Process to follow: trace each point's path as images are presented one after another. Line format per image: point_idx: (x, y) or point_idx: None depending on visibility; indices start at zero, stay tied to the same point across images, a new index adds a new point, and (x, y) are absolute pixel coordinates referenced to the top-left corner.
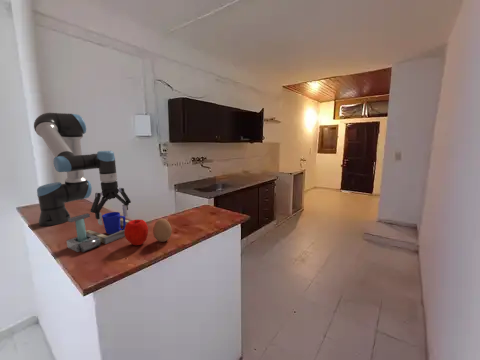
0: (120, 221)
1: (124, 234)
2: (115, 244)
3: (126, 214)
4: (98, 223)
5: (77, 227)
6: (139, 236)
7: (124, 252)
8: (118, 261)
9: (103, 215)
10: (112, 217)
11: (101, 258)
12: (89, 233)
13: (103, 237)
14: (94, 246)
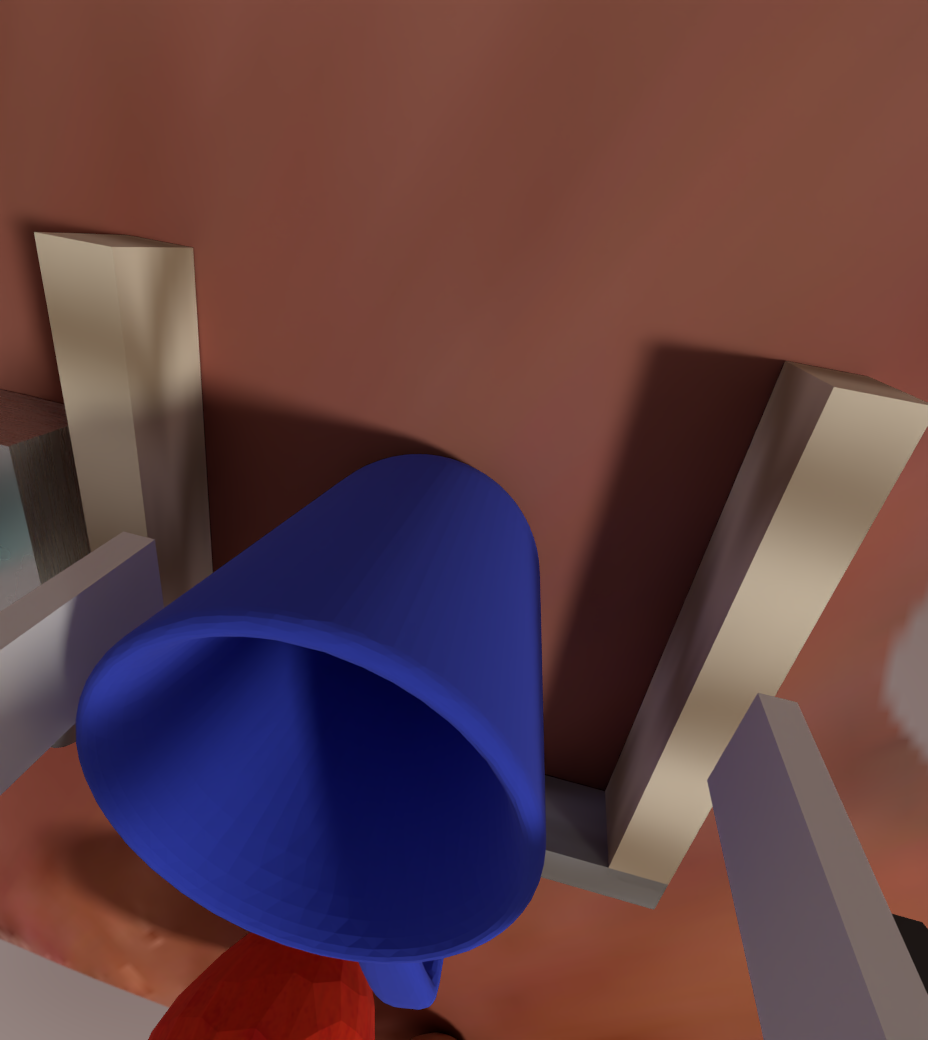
0: (792, 442)
1: (156, 1027)
2: None
3: (732, 843)
4: (109, 551)
5: None
6: None
7: (188, 899)
8: (106, 916)
9: (153, 653)
10: (235, 888)
11: (51, 818)
12: (77, 399)
13: None
14: None
